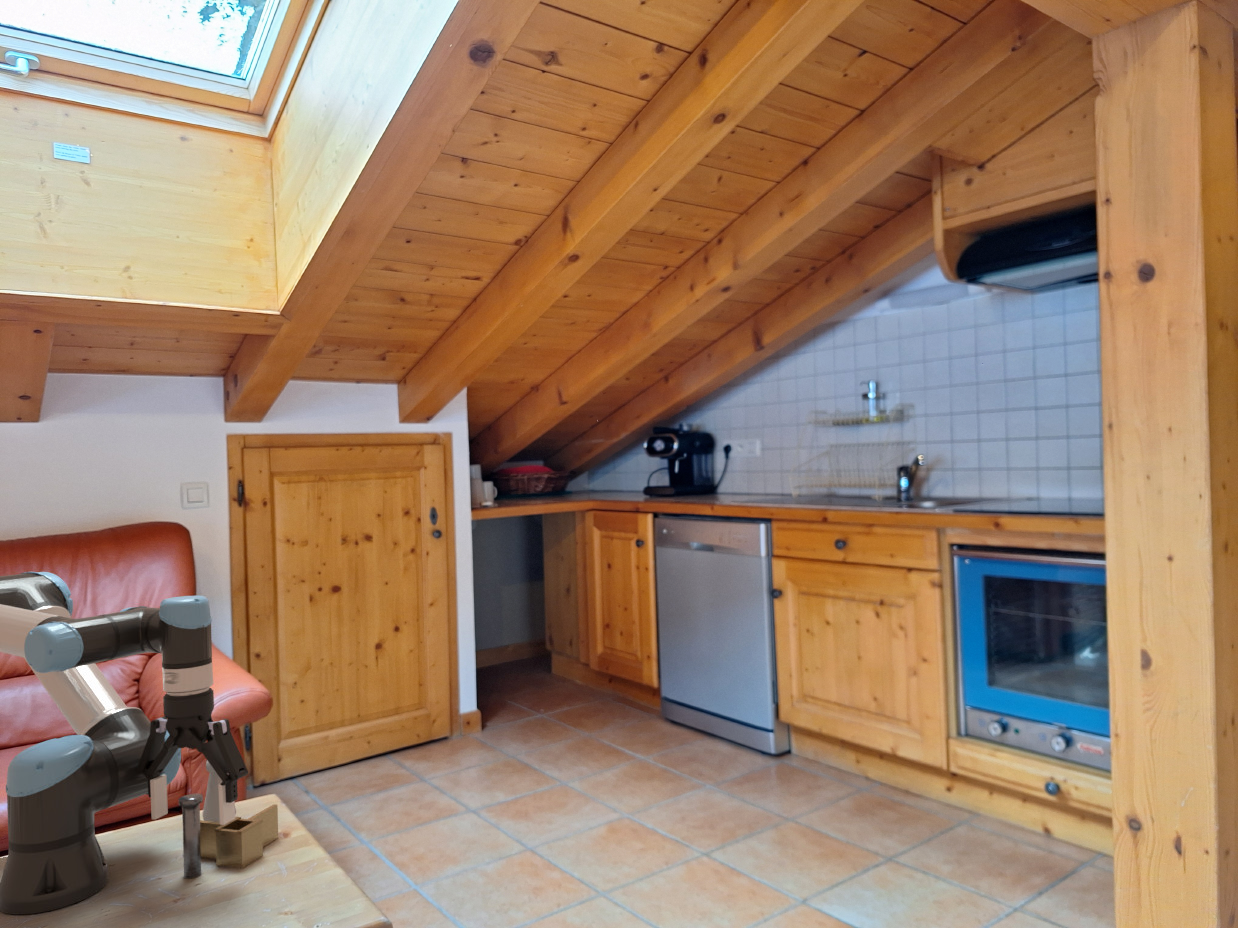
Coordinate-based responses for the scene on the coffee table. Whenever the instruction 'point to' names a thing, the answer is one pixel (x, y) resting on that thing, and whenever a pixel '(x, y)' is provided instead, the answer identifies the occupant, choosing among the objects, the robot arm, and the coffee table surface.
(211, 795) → the salt shaker
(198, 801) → the hinge pin
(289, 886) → the coffee table surface
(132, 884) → the coffee table surface
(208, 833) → the hinge
